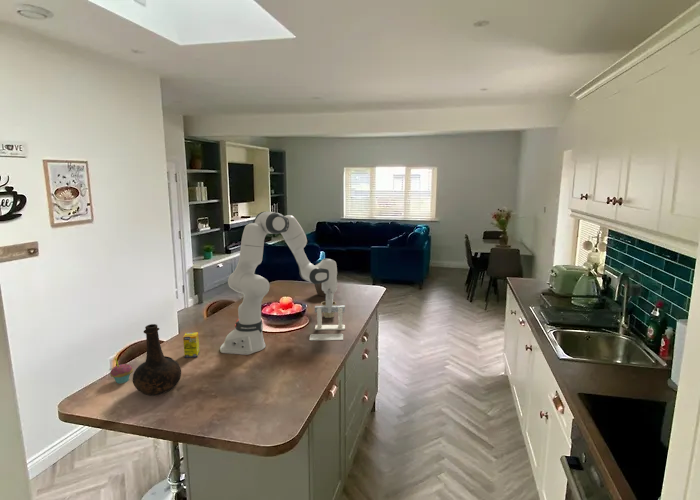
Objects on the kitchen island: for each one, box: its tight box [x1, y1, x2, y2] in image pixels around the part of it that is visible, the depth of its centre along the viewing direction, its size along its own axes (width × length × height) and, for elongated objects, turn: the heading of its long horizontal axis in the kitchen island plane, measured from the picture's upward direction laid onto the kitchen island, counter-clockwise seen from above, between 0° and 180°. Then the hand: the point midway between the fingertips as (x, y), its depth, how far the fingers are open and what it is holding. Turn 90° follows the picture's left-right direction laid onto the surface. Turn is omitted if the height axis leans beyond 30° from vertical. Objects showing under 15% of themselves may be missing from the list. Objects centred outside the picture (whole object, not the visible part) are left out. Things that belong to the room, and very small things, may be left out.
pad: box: [309, 333, 344, 341], centre depth 225 cm, size 18×8×1 cm, turn 91°
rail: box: [314, 305, 346, 313], centre depth 237 cm, size 17×3×3 cm, turn 91°
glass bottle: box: [132, 323, 182, 396], centre depth 169 cm, size 18×18×28 cm
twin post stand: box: [314, 308, 346, 331], centre depth 238 cm, size 17×6×12 cm, turn 91°
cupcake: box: [109, 357, 134, 385], centre depth 178 cm, size 9×8×12 cm
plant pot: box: [313, 283, 326, 297], centre depth 304 cm, size 15×15×16 cm
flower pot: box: [320, 300, 337, 319], centre depth 258 cm, size 9×9×9 cm
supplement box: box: [182, 331, 200, 359], centre depth 203 cm, size 6×6×11 cm
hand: (329, 310), depth 237 cm, fingers open, 7 cm apart
